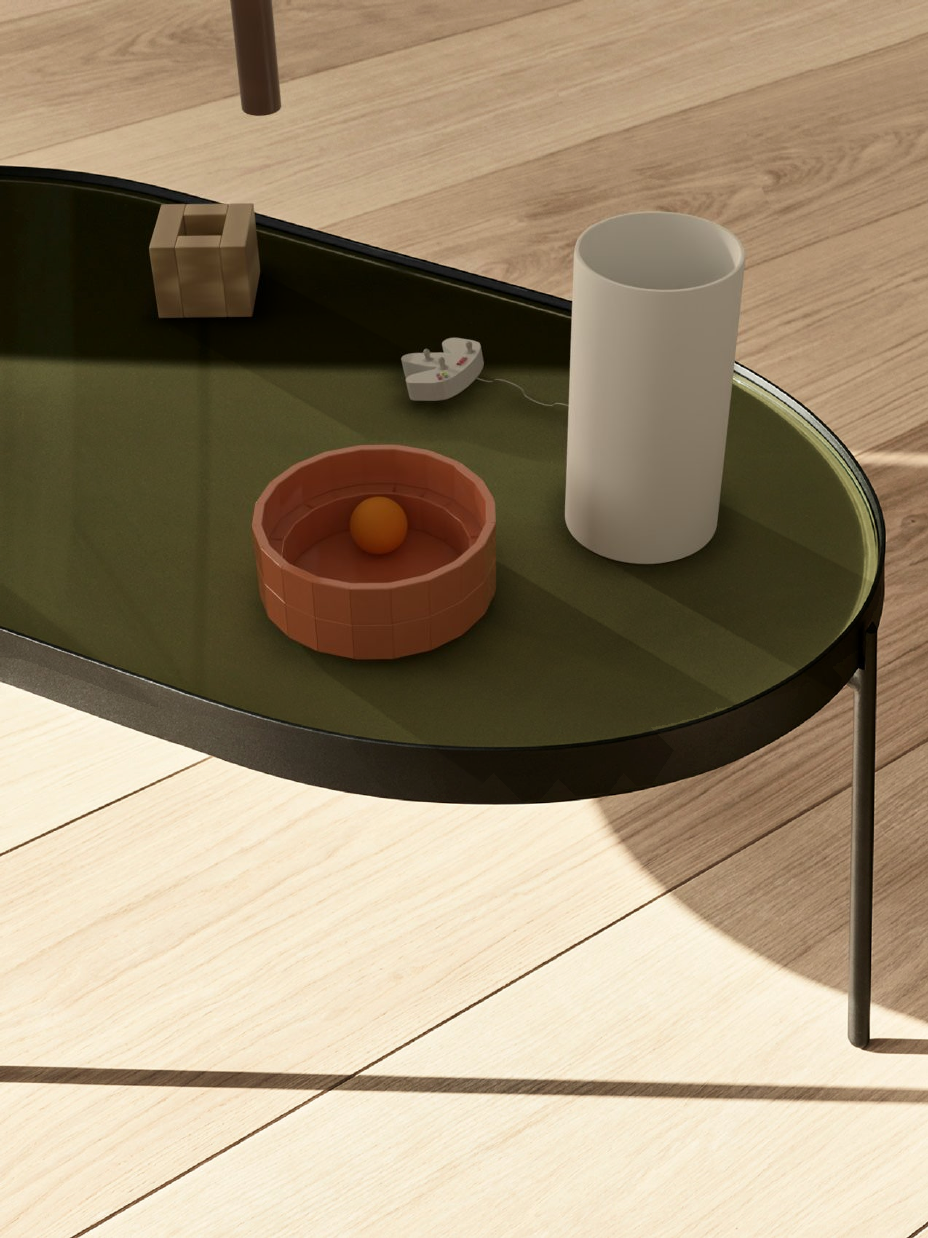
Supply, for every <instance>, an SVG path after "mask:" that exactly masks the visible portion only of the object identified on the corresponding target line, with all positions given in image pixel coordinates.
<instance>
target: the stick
mask: <svg viewBox="0 0 928 1238" xmlns="http://www.w3.org/2000/svg"><path fill="white" fill-rule="evenodd" d="M229 2H230V3H229V4H230V12H231V21H232V30H233V31H232V32H233V39H234V49H235V59H236V69H237V77H238V79H237V80H238V88H239V94H240V95H239V96H240V106H241V110H242V112H243V113H245V114H246V115H249V116H255V117H265V116H271V115H274V114H275V113H278V112H279V111H280V110H281V109H282V97H281V85H280V74H279V64H278V63H279V62H278V53H277V43H276V41H277V40H276V31H275V30H276V29H275V20H274V9H273V8H274V7H273V0H229Z"/></svg>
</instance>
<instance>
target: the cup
mask: <svg viewBox="0 0 928 1238" xmlns="http://www.w3.org/2000/svg"><path fill="white" fill-rule="evenodd" d="M574 245H575V246H574V252H573V273H572V274H573V275H572V296H571V297H572V300H571V301H572V302H571V326H570V327H571V328H570V329H571V330H570V354H569V355H570V358H569V359H570V360H569V382H568V383H569V387H568V405H569V406H568V413H567V414H568V415H567V442H566V446H567V447H566V470H565V471H566V473H565V475H566V476H565V504H564V520H565V524H566V527H567V529H568V531H569V533H570V534H571V536H572V537H573V538H574V539H575V540H576V541H577V542H578V543H579V544H580V545H582V546H583V547H585V548H586V549H588V550H589V551H591V552H592V553H595V554H597V555H599V556H600V557H604V558H607V559H610V560H613V561H618V562H622V563H628V564H638V565H655V564H663V563H664V564H665V563H668V562H669V563H670V562H674V561H678V560H681V559H684V558H686V557H689V556H692V555H693V554H695V553H697V552H698V551H700V550H702V549H703V548H704V547H705V546H707V544H709V542H710V541H711V540H712V538H713V537H714V535H715V533H716V531H717V527H718V521H719V520H718V518H719V510H720V501H721V490H722V481H723V473H724V464H725V455H726V454H725V453H726V445H727V436H728V426H729V417H730V410H731V409H730V408H731V399H732V389H733V381H734V380H733V379H734V371H735V361H736V354H737V353H736V352H737V344H738V333H739V324H740V315H741V307H742V297H743V288H744V287H743V286H744V277H745V267H746V250H745V247H744V245H743V243H742V241H741V239H740V238H739V237H737V235H736V234H734V233H733V232H732V231H731V230H729V229H727V228H726V227H725V226H723V225H720V224H719V223H717V222H714V221H712V220H709V219H706V218H703V217H700V216H696V215H692V214H687V213H681V212H675V211H653V210H652V211H650V210H649V211H637V212H628V213H621V214H618V215H614V216H610V217H608V218H604V219H602V220H600V221H597V222H596V223H594V224H592V225H590V226H589V227H587V228H586V229H585V230H584V231H582V232H581V234H580V235H579V236H578V238H577V239H576V242H575V244H574Z"/></svg>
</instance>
